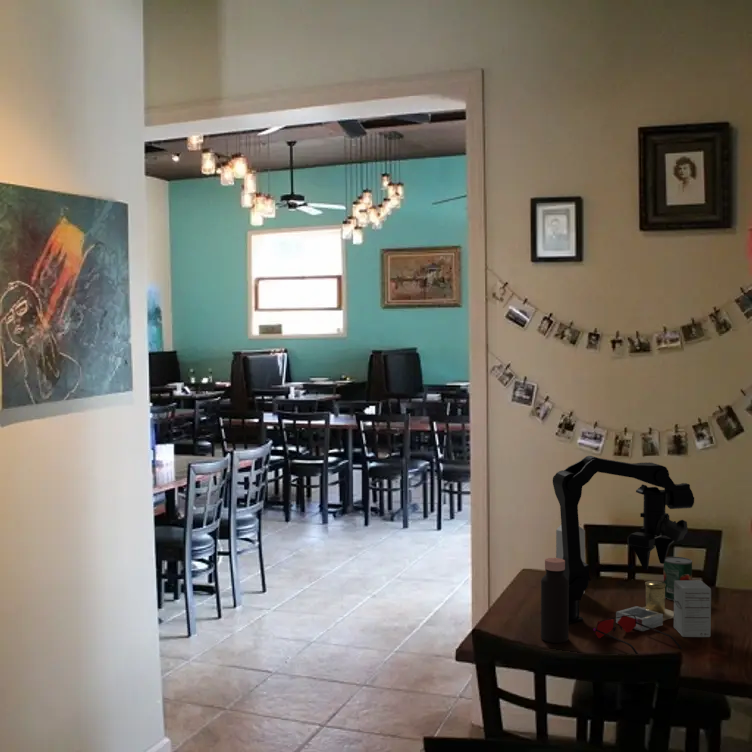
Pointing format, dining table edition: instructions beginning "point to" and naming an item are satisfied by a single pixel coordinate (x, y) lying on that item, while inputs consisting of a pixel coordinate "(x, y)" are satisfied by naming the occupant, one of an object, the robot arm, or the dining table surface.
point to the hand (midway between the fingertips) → (653, 566)
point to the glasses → (624, 623)
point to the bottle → (554, 602)
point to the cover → (655, 596)
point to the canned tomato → (676, 573)
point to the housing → (642, 617)
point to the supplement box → (692, 608)
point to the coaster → (667, 614)
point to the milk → (560, 544)
